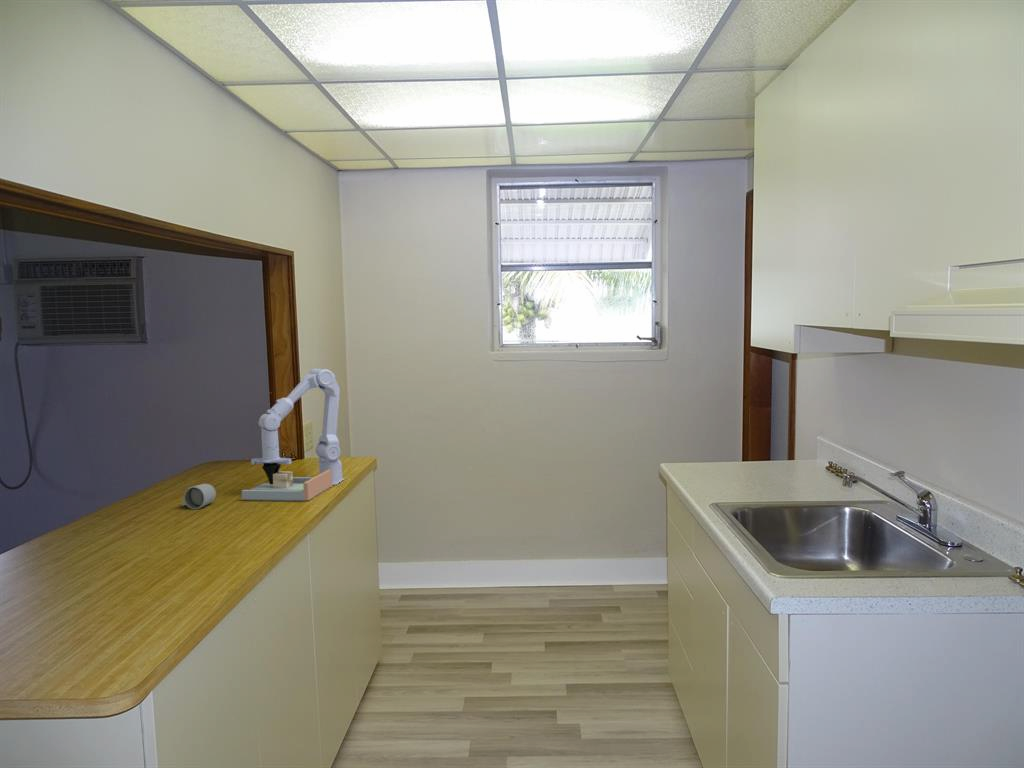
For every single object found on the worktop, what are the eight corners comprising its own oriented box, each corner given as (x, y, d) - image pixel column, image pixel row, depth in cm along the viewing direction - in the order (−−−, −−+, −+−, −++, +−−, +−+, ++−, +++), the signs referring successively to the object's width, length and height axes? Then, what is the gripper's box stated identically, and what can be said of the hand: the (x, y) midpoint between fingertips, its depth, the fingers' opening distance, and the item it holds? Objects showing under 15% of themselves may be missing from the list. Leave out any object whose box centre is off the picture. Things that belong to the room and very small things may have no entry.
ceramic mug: (218, 502, 236) (216, 481, 236) (205, 509, 228) (203, 486, 228) (190, 503, 238) (188, 481, 237) (175, 509, 230) (173, 487, 229)
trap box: (271, 485, 259) (270, 469, 258) (332, 486, 255) (331, 469, 255) (242, 500, 238) (241, 482, 238) (308, 501, 235) (307, 483, 234)
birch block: (280, 484, 250) (279, 471, 249) (292, 485, 249) (292, 471, 248) (273, 488, 245) (272, 474, 244) (286, 488, 244) (285, 474, 244)
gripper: (246, 448, 243) (248, 486, 244) (284, 449, 241) (286, 486, 242) (256, 445, 250) (258, 481, 251) (293, 445, 248) (295, 481, 249)
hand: (272, 483), depth 247 cm, fingers closed
